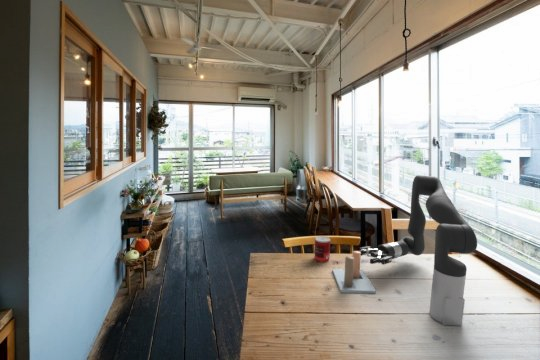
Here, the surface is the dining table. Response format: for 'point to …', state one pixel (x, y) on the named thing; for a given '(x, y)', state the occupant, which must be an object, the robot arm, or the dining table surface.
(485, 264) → the dining table surface
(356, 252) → the wooden peg
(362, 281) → the board
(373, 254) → the robot arm
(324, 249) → the canned food
